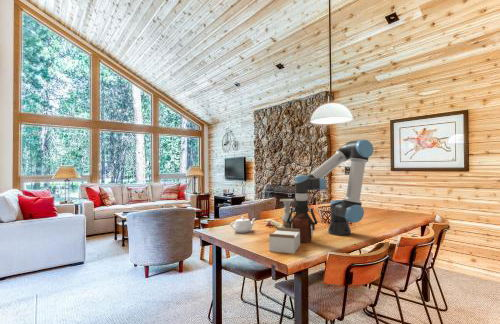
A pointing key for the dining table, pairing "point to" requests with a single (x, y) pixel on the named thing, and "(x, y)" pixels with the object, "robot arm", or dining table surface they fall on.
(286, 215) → the candle holder
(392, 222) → the dining table surface
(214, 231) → the dining table surface
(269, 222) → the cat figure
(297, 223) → the wooden figurine
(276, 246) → the display plinth
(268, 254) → the dining table surface
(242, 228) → the teapot
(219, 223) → the dining table surface
